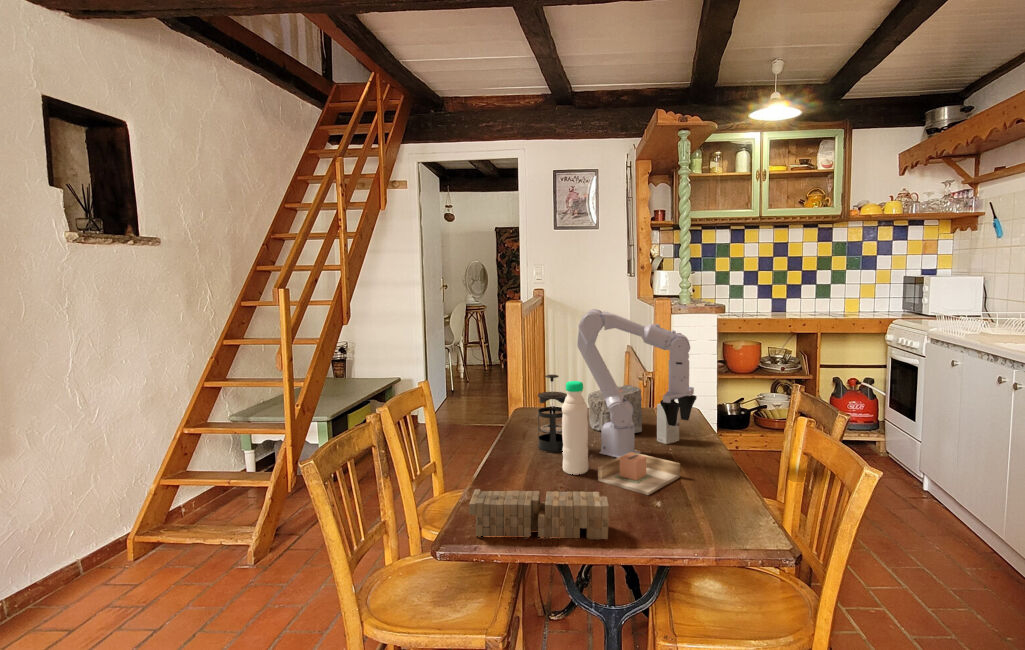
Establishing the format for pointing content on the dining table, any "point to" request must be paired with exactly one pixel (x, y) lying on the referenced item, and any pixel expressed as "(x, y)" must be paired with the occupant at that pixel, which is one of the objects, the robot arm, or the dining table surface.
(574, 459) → the milk bottle
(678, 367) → the robot arm
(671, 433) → the skincare box
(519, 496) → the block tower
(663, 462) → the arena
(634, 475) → the terracotta cube
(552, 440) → the french press
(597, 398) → the grey brown chunky block
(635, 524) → the dining table surface
